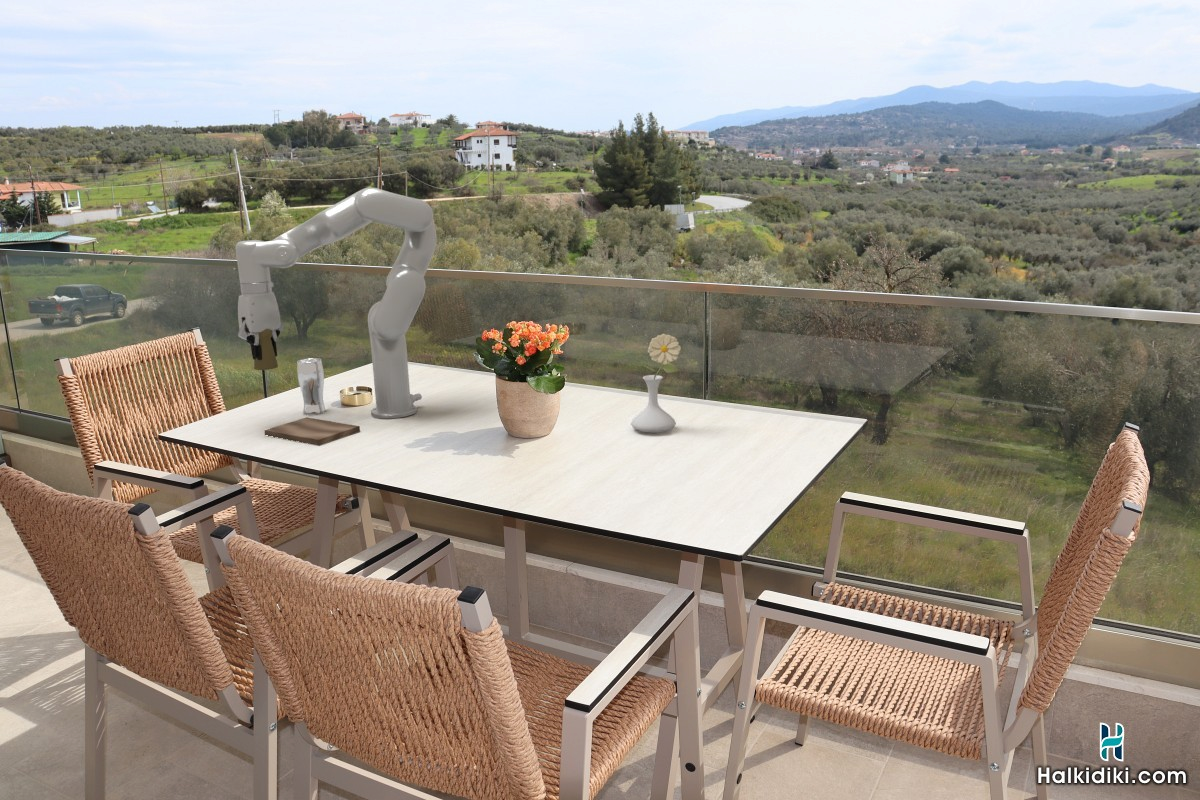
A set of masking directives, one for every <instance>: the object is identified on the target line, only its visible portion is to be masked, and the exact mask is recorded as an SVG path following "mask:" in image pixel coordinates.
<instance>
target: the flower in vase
mask: <svg viewBox="0 0 1200 800" xmlns="http://www.w3.org/2000/svg"><path fill="white" fill-rule="evenodd" d="M679 344H680V342H678V339H677V338H676V337H675V336H672V335H670V334H665V333H662V334H659V335H656V336H655V337H652V338H651V341H650V342H649V345H648V348H647V353H648V354H649V357H650V359H651V361H654V362H656V363H657V364H661V365H660V367H659V369H658V370H657V371H656V369H653V368H652V367H649V366H647V365H645V364H644V363H642V365H643V366H644V367H645V368H646V369H648V370H651V371H653V372H655V374H649V375H644V376H642V379H643V380H644V382H645V383H646V387H647V391H648V402H647V405H646V407H645V408H644V409H643V410H642V411H640V412H639V413H638V414H637V415H636V416H634V418H633V419H632V421H631V422H630V425H631V427H632V428H633V429H635V430H637V431H639V432H642V433H643V432H644V433H662V432H663V433H664V432H666V431H669V430H671V429H673V428H674V427H675V425H676V424H677V423H676V421H675V419H674V418H673V417H672V415H670V413H668V412H666V411H665V410H664V409H663V408H661V406H660V405H659V402H658V392H659V386H660V383H661V381H662V379H663V378H664V377H663V376H662V375H658V374H659V372H660V371H661V370H663V371H664V372H665V373H666V374H672V373H673V374H674V373H676V372H679V371H680V370H679V369H678V367H676V365H675V364H673V363H672V362H674V361H677V360H678V358H679V354H680V352H681V350H682V349H681V348H682V347H681V345H679Z"/></svg>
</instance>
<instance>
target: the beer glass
mask: <svg viewBox="0 0 1200 800" xmlns="http://www.w3.org/2000/svg"><path fill="white" fill-rule="evenodd" d="M296 363H297V367H296V368H297V369H296V370H297V378H298V384H299V388H300V392H301V394H302V397H303V412H302V413H303V414H304V415H307V414H315V415H320V414H324V413H326V411H327V410H326V406H325V402H324V387H325V386H324V384H325V375H324V367H323V363H322V359H321V358H316V357H315V358H314V357H311V358H303V359H298V360H297V361H296ZM323 412H324V413H323Z"/></svg>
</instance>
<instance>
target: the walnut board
mask: <svg viewBox="0 0 1200 800" xmlns="http://www.w3.org/2000/svg"><path fill="white" fill-rule="evenodd" d="M360 432H361V426H360V425H356V424H349V423H345V422H344V423H343V422H339V421H338V422H337V421H330V420H325V419H320V418H319V419H318V418H314V417H304V418H300V419H297V420H293V421H289V422H287V423H284V424H280V425H277V426H274V427H271V428H267V429H264V436H265V435H268V436H267V437H269V436H273V437H272V438H275V437H278V438H277V439H280V438H283V439H282V440H286V439H288V440H287V441H291V440H293V441H292V442H296V441H299V442H298V443H302V442H303V443H302V444H307V443H308V444H307V445H313V446H322V445H325V444H328V443H330V442H334V441H336V440H339V439H343V438H345V437H348V436H351V435H354V434H357V433H360Z"/></svg>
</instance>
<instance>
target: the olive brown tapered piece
mask: <svg viewBox="0 0 1200 800" xmlns="http://www.w3.org/2000/svg"><path fill="white" fill-rule="evenodd" d="M258 334H259V345H261V349H262V360H258V359H257V358H256V360H254V359H253V360H254V361H253V369H254V370H255V371H267V370H274V369H277V368H278V367H279V364H278V360H277V356H275V353H274V349H273V345H272V341H271V337H272V330H270V329H265V330H263V331H262V332H260V333H258ZM252 337H253V339H254V335H252Z"/></svg>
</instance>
